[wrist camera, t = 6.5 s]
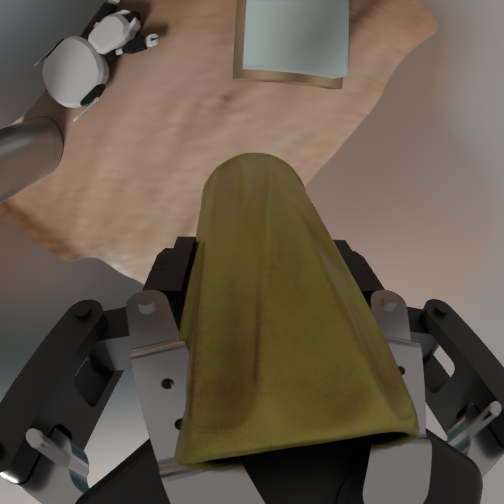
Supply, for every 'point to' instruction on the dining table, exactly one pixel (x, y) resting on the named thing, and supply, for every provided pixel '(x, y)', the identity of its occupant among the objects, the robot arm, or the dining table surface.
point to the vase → (278, 326)
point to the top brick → (297, 36)
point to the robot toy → (92, 57)
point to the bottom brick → (266, 75)
